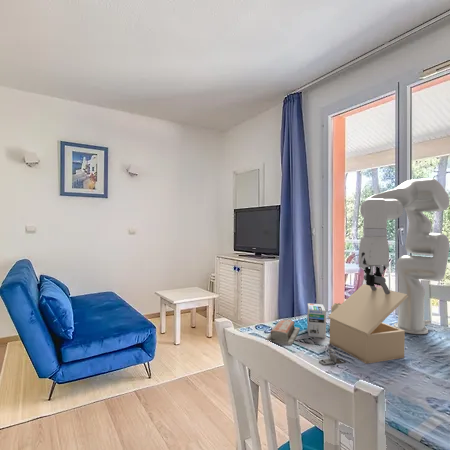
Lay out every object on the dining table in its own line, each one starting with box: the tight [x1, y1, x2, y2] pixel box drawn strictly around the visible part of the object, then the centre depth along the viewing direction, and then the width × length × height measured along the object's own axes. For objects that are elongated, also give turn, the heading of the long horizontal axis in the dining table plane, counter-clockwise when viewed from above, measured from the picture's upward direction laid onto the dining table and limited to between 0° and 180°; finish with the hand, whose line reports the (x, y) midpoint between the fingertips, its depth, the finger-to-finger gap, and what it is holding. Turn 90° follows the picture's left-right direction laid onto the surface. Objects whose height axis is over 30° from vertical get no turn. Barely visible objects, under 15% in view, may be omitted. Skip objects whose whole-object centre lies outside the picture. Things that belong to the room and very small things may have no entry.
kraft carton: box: [329, 319, 406, 365], centre depth 111 cm, size 16×18×9 cm
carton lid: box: [327, 273, 408, 336], centre depth 111 cm, size 20×19×8 cm
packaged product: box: [265, 319, 301, 346], centre depth 124 cm, size 18×5×10 cm
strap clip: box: [318, 348, 347, 366], centre depth 101 cm, size 8×3×4 cm, turn 108°
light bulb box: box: [306, 302, 327, 339], centre depth 128 cm, size 11×7×11 cm, turn 168°
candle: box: [330, 302, 342, 314], centre depth 137 cm, size 6×6×10 cm
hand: (373, 284), depth 112 cm, fingers open, 2 cm apart
